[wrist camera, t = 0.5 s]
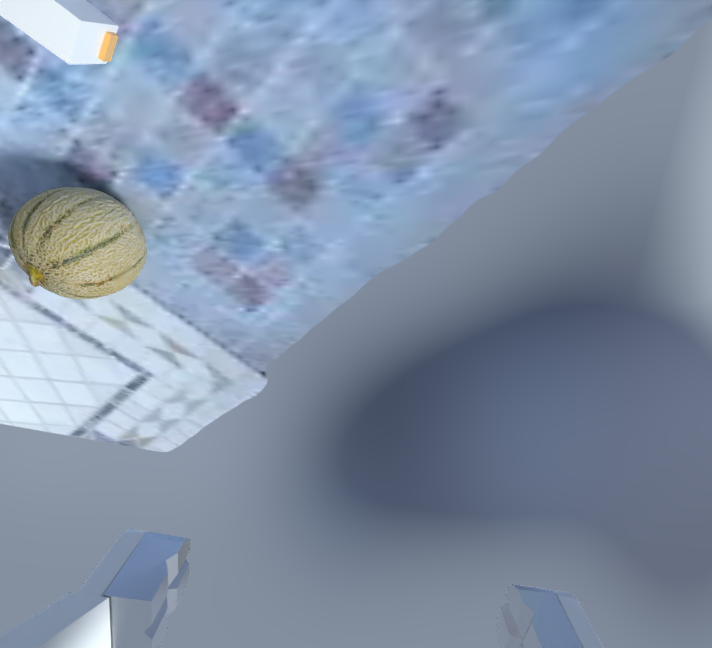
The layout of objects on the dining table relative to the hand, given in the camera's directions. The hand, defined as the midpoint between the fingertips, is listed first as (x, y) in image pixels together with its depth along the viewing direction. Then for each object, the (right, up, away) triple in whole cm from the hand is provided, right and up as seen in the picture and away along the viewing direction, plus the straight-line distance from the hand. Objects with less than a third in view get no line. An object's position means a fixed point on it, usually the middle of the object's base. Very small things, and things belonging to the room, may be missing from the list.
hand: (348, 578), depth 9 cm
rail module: (-31, +41, +33) cm, 61 cm away
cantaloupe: (-36, +21, +47) cm, 63 cm away
